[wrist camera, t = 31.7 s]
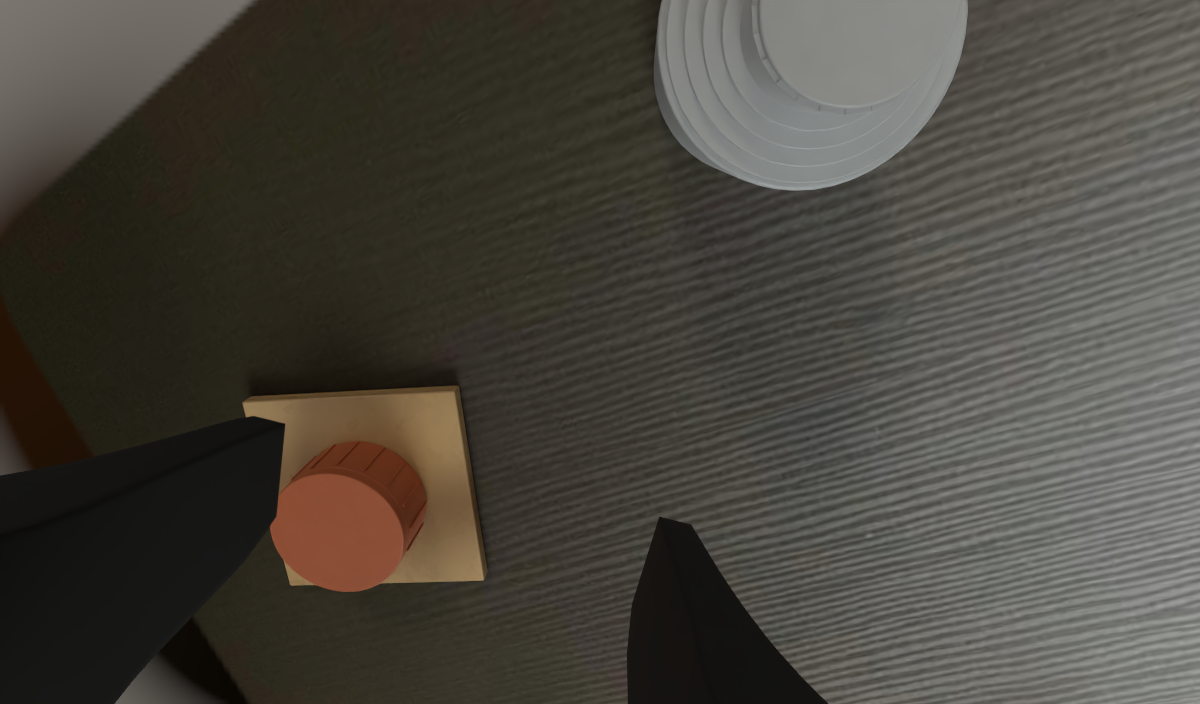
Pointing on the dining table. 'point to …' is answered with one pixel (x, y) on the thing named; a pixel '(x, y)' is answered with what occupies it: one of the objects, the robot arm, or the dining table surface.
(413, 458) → the coaster
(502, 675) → the dining table surface
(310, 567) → the flask cap
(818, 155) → the flask
